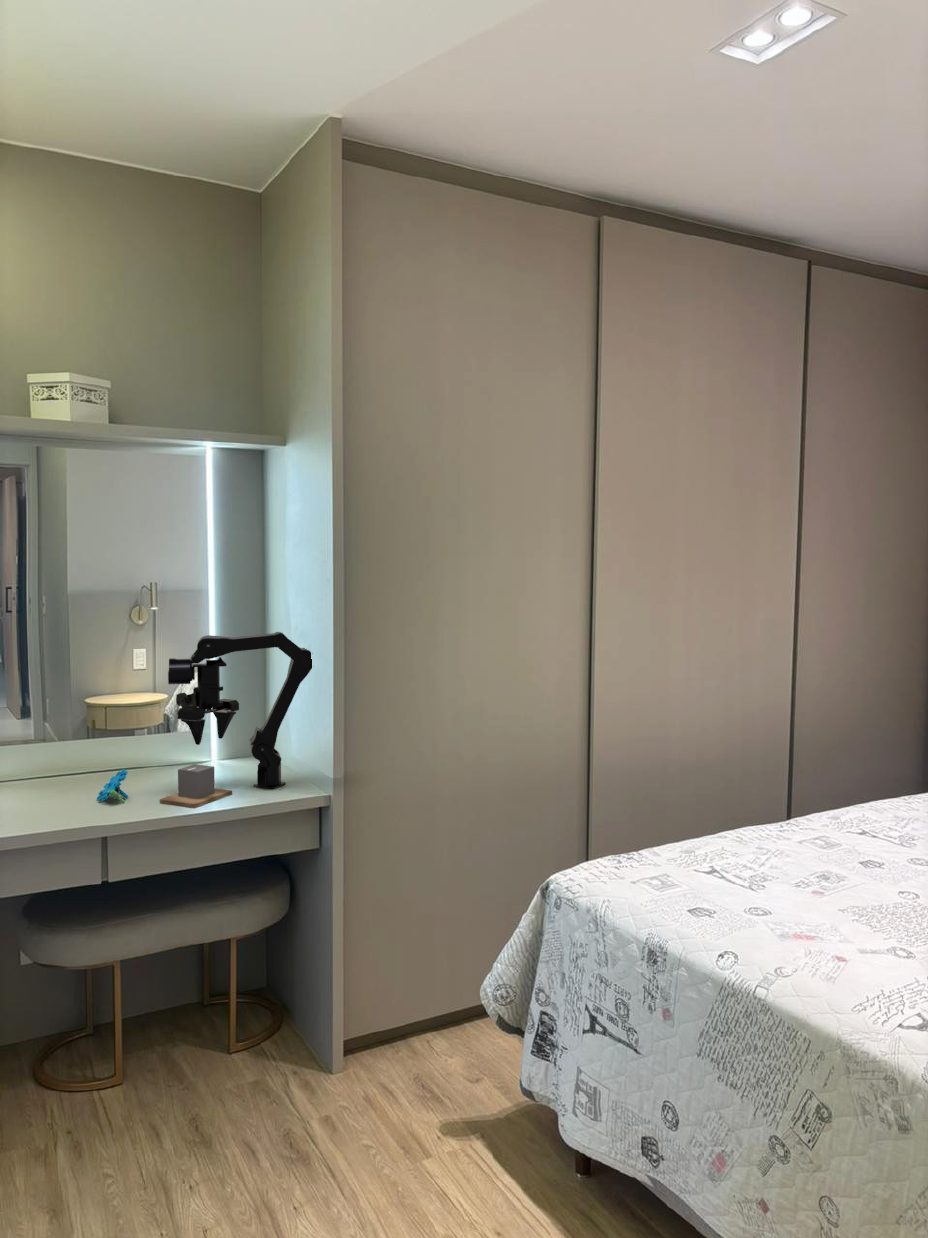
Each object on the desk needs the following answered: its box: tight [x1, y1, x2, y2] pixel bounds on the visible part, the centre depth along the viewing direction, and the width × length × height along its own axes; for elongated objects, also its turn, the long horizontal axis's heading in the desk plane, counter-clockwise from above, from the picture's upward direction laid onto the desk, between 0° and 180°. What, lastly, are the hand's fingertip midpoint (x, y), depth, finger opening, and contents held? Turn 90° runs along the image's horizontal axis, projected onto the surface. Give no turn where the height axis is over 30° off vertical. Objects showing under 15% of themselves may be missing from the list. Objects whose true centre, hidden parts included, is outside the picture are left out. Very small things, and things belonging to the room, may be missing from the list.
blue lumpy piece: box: [96, 768, 129, 804], centre depth 246 cm, size 11×6×10 cm
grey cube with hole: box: [177, 764, 216, 799], centre depth 247 cm, size 6×6×7 cm
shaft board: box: [159, 787, 233, 809], centre depth 247 cm, size 15×11×4 cm
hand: (209, 741), depth 256 cm, fingers open, 9 cm apart
